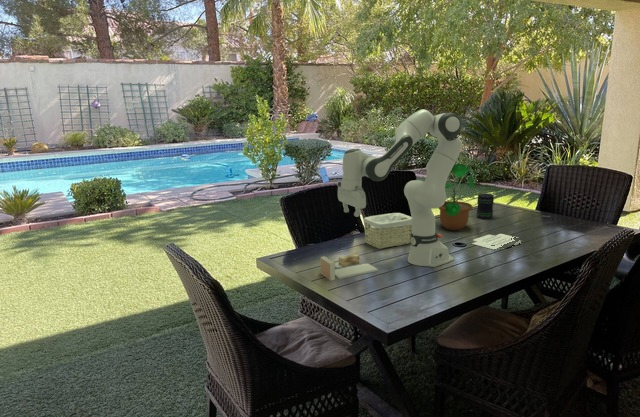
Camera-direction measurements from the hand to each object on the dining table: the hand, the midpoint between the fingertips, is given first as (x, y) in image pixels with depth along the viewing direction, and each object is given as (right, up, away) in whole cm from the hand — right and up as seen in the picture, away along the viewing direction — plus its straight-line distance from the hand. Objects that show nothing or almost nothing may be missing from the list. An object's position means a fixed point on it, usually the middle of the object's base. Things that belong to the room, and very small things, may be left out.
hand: (351, 214), depth 218 cm
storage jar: (+92, -4, +87) cm, 127 cm away
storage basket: (+23, -17, +40) cm, 49 cm away
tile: (-11, -28, -5) cm, 31 cm away
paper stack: (+82, -16, +38) cm, 92 cm away
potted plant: (+63, -9, +66) cm, 91 cm away
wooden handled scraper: (-3, -25, +8) cm, 26 cm away
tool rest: (+1, -27, -1) cm, 27 cm away
